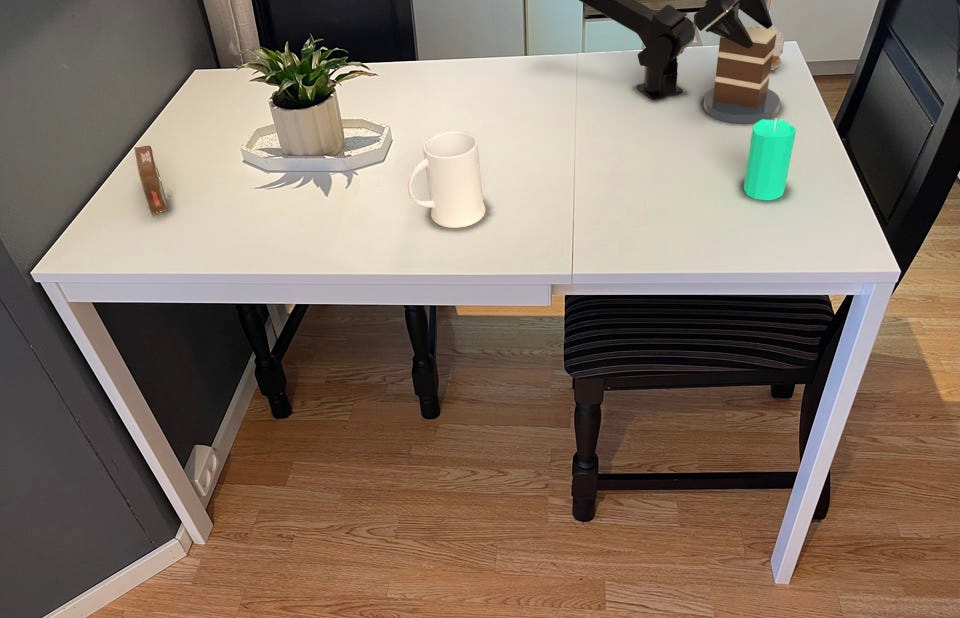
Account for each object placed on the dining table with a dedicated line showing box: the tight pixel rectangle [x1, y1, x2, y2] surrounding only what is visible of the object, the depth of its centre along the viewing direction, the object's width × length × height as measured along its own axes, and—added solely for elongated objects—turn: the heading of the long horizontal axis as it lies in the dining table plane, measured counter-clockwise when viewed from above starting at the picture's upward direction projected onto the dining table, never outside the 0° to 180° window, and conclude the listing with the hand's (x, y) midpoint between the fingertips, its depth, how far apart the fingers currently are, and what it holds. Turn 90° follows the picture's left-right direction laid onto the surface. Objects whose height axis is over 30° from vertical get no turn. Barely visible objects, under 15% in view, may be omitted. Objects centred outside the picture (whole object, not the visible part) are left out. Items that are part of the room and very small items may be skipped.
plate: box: [702, 87, 781, 124], centre depth 142 cm, size 13×13×2 cm
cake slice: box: [713, 25, 777, 108], centre depth 138 cm, size 8×5×12 cm, turn 56°
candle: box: [743, 117, 797, 201], centre depth 117 cm, size 6×6×12 cm
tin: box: [134, 145, 168, 215], centre depth 131 cm, size 15×3×8 cm, turn 23°
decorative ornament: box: [752, 0, 785, 71], centre depth 150 cm, size 8×8×15 cm
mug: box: [407, 131, 487, 229], centre depth 119 cm, size 12×8×12 cm
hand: (760, 36), depth 133 cm, fingers open, 9 cm apart
